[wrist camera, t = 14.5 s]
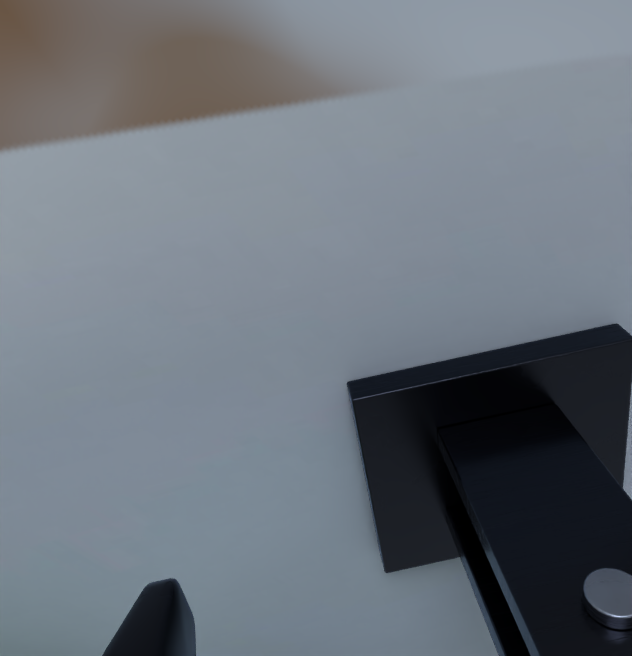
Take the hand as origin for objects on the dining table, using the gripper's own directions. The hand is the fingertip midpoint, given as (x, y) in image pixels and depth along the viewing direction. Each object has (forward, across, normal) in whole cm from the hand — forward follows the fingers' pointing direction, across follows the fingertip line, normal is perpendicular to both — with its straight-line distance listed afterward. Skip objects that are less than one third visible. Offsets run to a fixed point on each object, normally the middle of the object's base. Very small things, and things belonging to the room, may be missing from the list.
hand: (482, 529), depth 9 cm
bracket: (+12, -4, +10) cm, 16 cm away
